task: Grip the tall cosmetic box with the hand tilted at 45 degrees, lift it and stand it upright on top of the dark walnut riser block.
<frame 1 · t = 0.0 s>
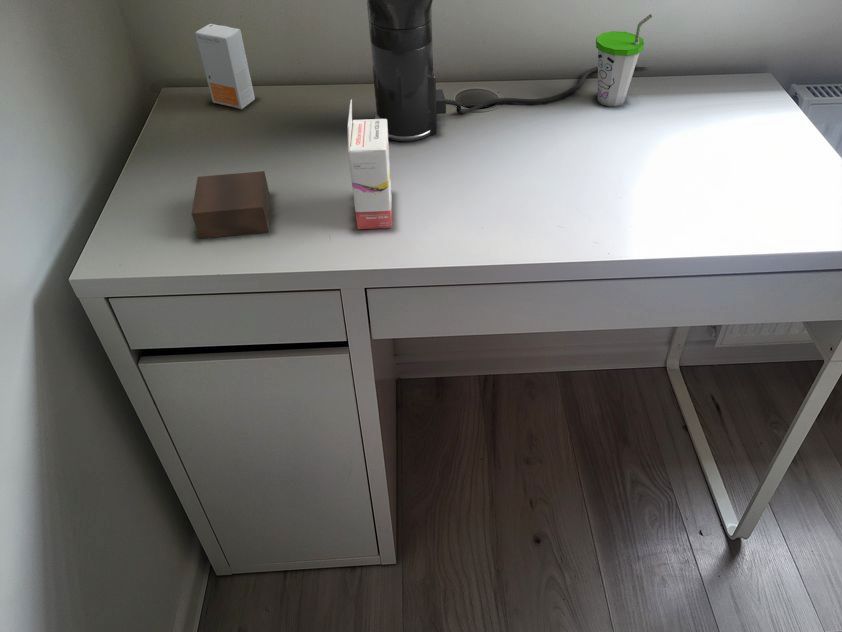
cosmetic box: (234, 102, 122), on the table
cup: (610, 101, 123), on the table
riser: (235, 216, 97), on the table
ink cartridge box: (375, 212, 99), on the table
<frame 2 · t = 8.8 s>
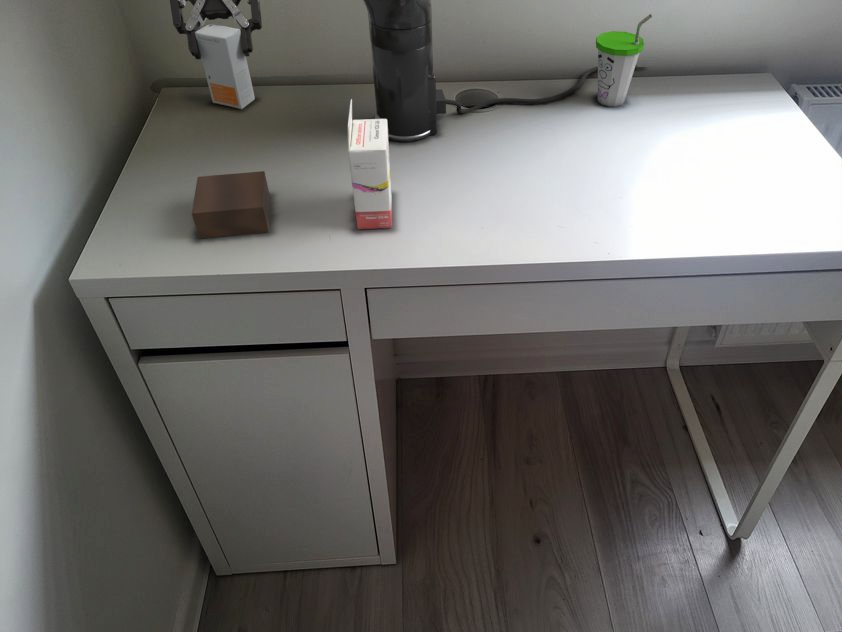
hand: (222, 55, 114), 9 cm above the table, tool tilted 45°, fingers closed on cosmetic box, 7 cm apart
cosmetic box: (234, 102, 122), on the table, touching gripper
everything else where it was.
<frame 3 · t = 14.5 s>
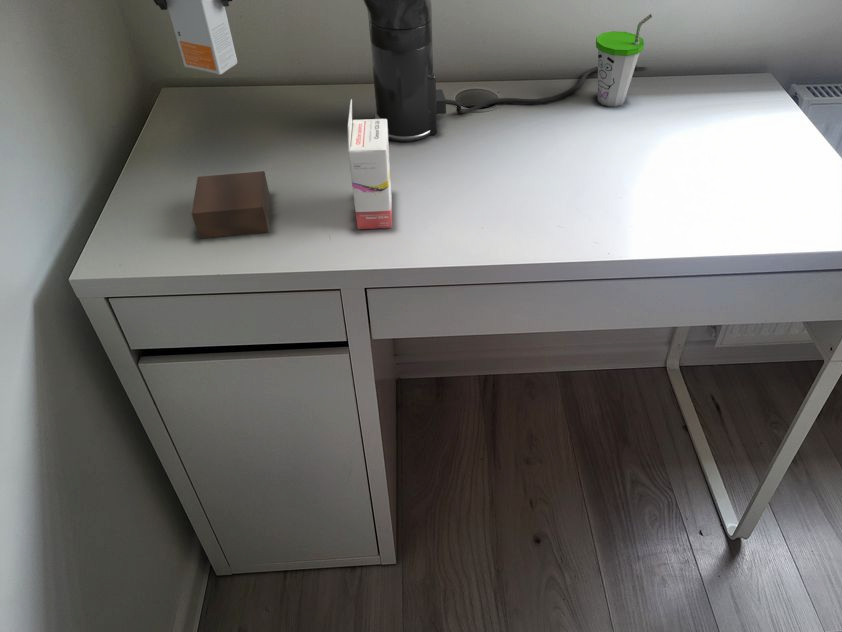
hand: (194, 5, 90), 23 cm above the table, tool tilted 45°, fingers closed on cosmetic box, 7 cm apart
cosmetic box: (212, 67, 97), point 15 cm above the table, touching gripper
everything else where it was.
when the fingers open (13 cm above the table, at t = 20.0 s): cosmetic box stays where it is, resting on riser.
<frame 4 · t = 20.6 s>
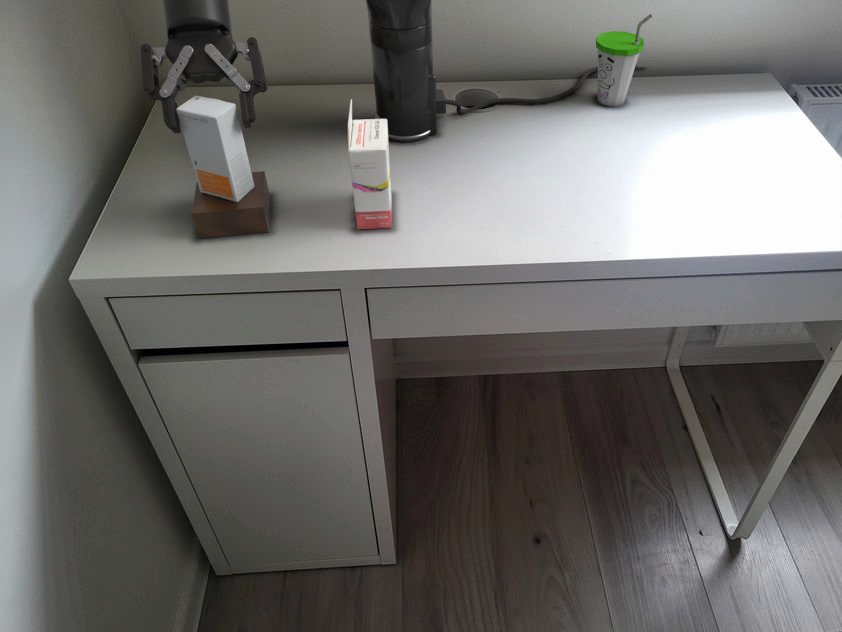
hand: (211, 128, 87), 13 cm above the table, tool tilted 45°, fingers open, 8 cm apart
cosmetic box: (228, 191, 95), point 4 cm above the table, touching riser
everything else where it was.
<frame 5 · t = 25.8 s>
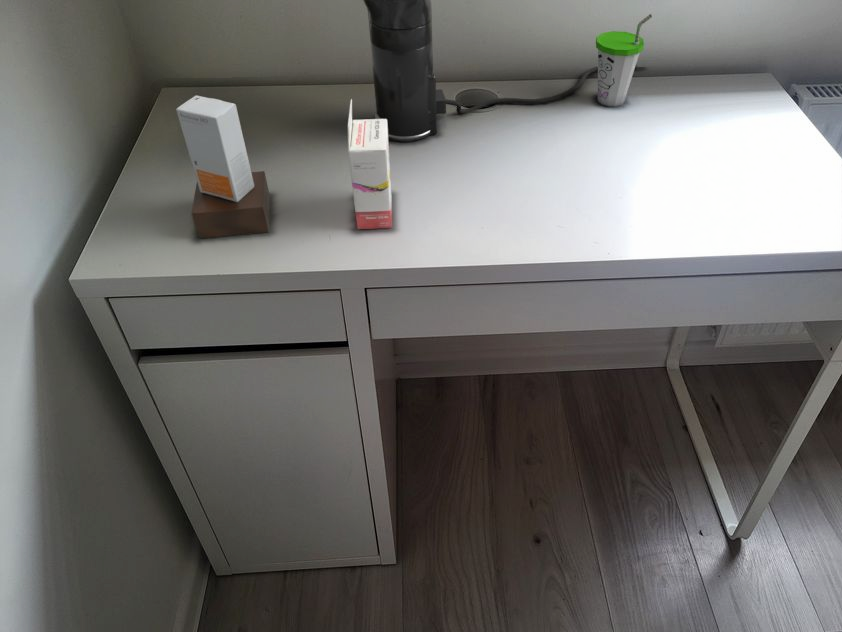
nothing on the table moved.
at the end: cosmetic box inside the target area on the riser (0.2 cm from its centre), point 3.8 cm above the riser's base; cosmetic box tilted 0°; the gripper is holding nothing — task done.
